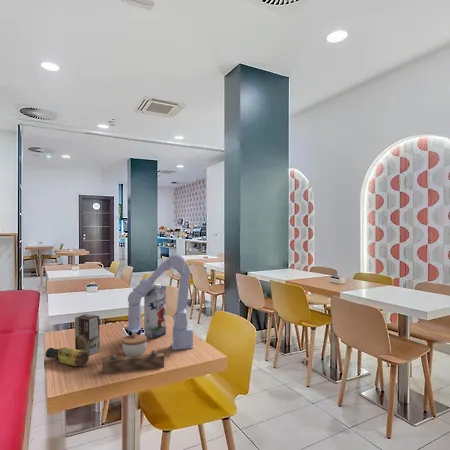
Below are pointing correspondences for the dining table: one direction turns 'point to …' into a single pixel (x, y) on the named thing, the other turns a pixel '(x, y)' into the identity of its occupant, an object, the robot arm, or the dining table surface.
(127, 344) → the lidded jar
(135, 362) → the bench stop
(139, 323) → the robot arm
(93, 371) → the dining table surface
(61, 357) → the sauce bottle
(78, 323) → the coffee box
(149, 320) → the juice carton
